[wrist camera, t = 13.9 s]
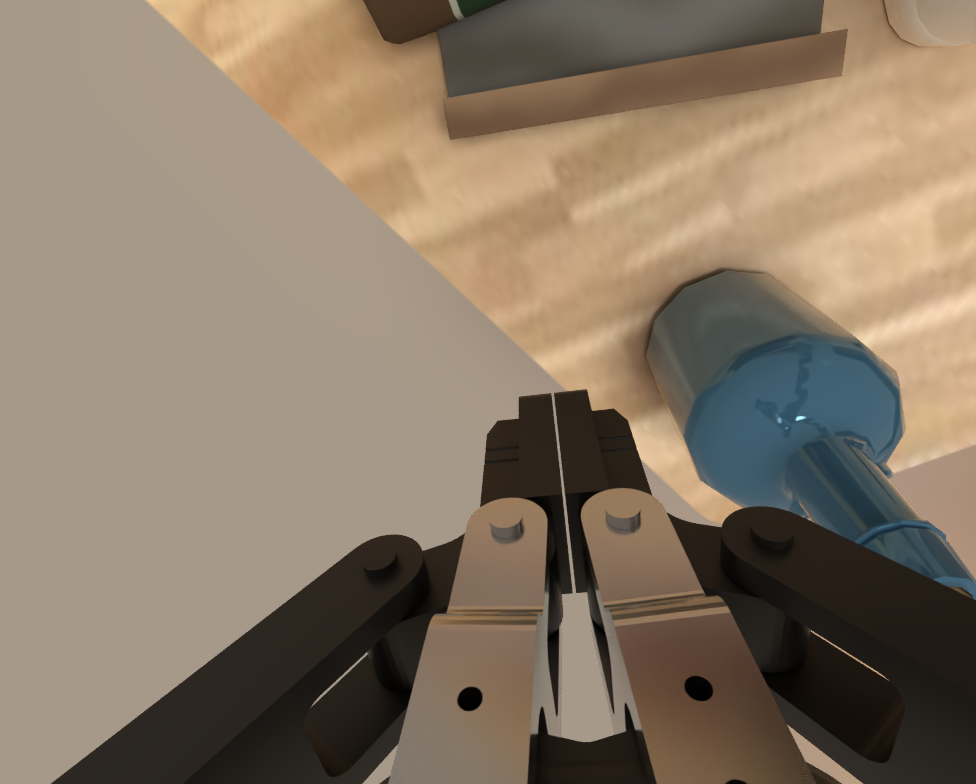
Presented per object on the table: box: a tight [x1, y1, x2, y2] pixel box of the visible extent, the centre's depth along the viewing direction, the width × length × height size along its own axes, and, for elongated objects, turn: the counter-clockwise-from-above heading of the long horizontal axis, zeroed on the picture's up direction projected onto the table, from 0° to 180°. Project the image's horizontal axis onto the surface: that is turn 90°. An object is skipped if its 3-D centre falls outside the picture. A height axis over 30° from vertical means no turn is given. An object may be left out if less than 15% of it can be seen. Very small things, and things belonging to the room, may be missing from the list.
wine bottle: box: [646, 270, 976, 600], centre depth 35 cm, size 14×13×30 cm
